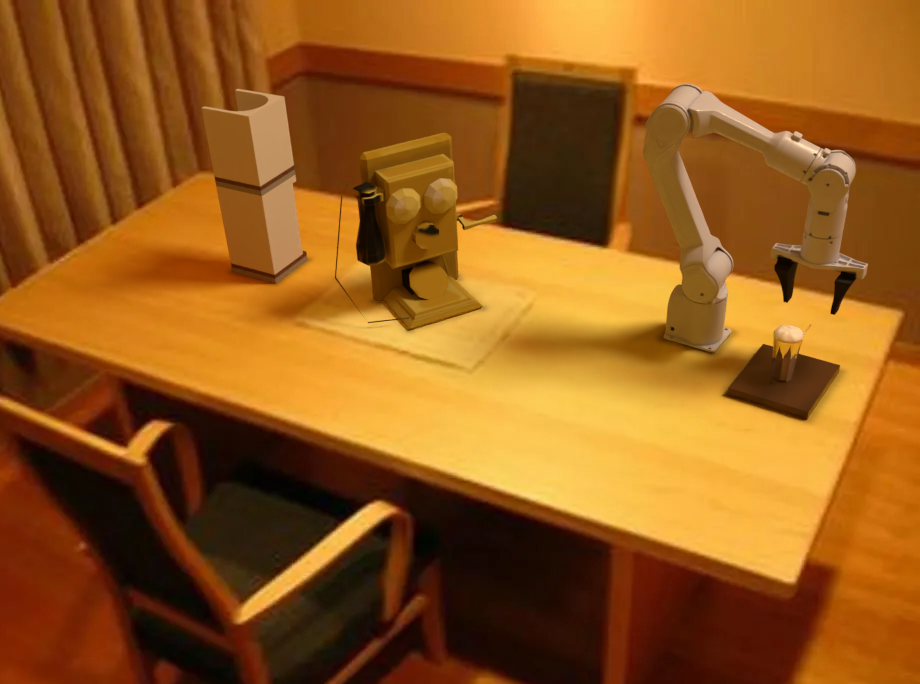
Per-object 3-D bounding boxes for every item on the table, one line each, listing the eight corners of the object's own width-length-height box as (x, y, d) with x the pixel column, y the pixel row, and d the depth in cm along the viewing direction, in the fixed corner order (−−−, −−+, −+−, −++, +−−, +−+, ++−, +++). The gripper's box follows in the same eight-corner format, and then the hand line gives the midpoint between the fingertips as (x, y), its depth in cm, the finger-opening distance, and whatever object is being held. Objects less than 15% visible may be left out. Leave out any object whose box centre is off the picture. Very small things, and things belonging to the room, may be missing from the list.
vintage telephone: (362, 345, 195) (345, 193, 177) (334, 310, 205) (316, 163, 188) (514, 299, 204) (512, 150, 187) (480, 268, 215) (475, 124, 197)
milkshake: (803, 385, 173) (812, 332, 167) (768, 383, 174) (776, 331, 168) (800, 369, 176) (809, 317, 171) (766, 367, 177) (774, 315, 172)
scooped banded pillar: (307, 260, 223) (284, 96, 203) (276, 283, 216) (248, 116, 195) (264, 249, 228) (237, 88, 208) (232, 271, 221) (201, 107, 201)
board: (727, 395, 174) (727, 387, 174) (762, 350, 184) (763, 343, 183) (807, 419, 168) (808, 412, 167) (839, 372, 177) (840, 364, 176)
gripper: (879, 230, 166) (864, 305, 174) (786, 210, 174) (776, 283, 182) (864, 249, 162) (850, 326, 170) (770, 228, 169) (760, 302, 177)
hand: (810, 305), depth 175 cm, fingers open, 7 cm apart
